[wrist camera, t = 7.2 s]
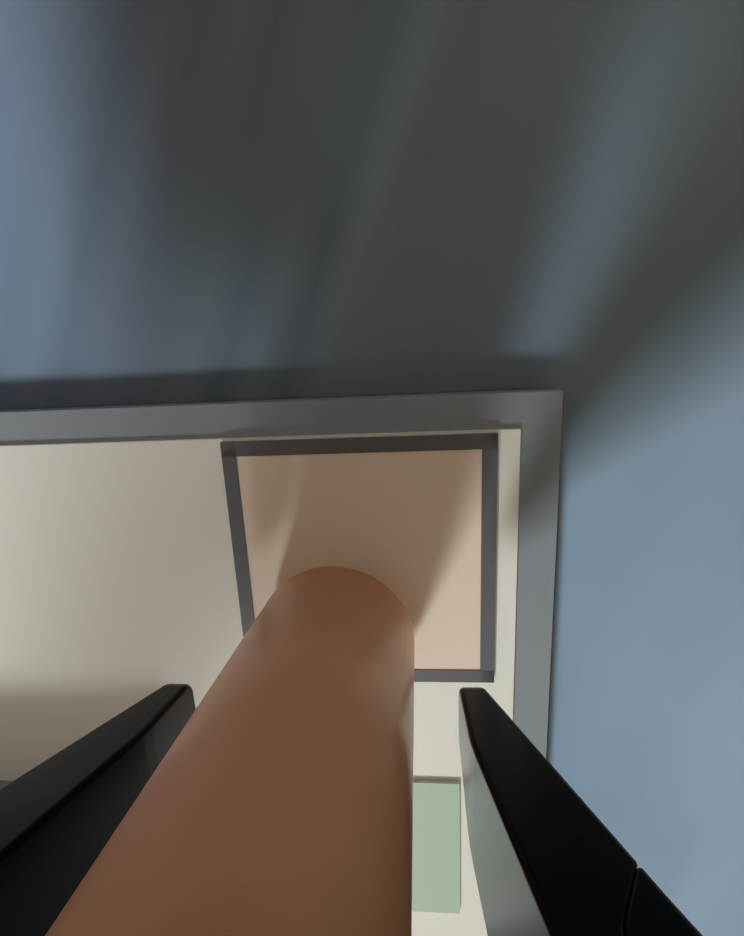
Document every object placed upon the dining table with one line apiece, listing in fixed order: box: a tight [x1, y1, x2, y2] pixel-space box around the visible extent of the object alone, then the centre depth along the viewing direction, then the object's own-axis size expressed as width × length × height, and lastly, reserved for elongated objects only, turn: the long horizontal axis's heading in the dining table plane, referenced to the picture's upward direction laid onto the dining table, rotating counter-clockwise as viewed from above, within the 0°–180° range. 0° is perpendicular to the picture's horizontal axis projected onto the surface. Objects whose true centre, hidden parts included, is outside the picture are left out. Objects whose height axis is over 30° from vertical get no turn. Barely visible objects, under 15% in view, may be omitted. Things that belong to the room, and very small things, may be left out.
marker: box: [45, 566, 415, 936], centre depth 6 cm, size 3×3×8 cm
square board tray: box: [0, 388, 563, 936], centre depth 10 cm, size 16×16×4 cm
